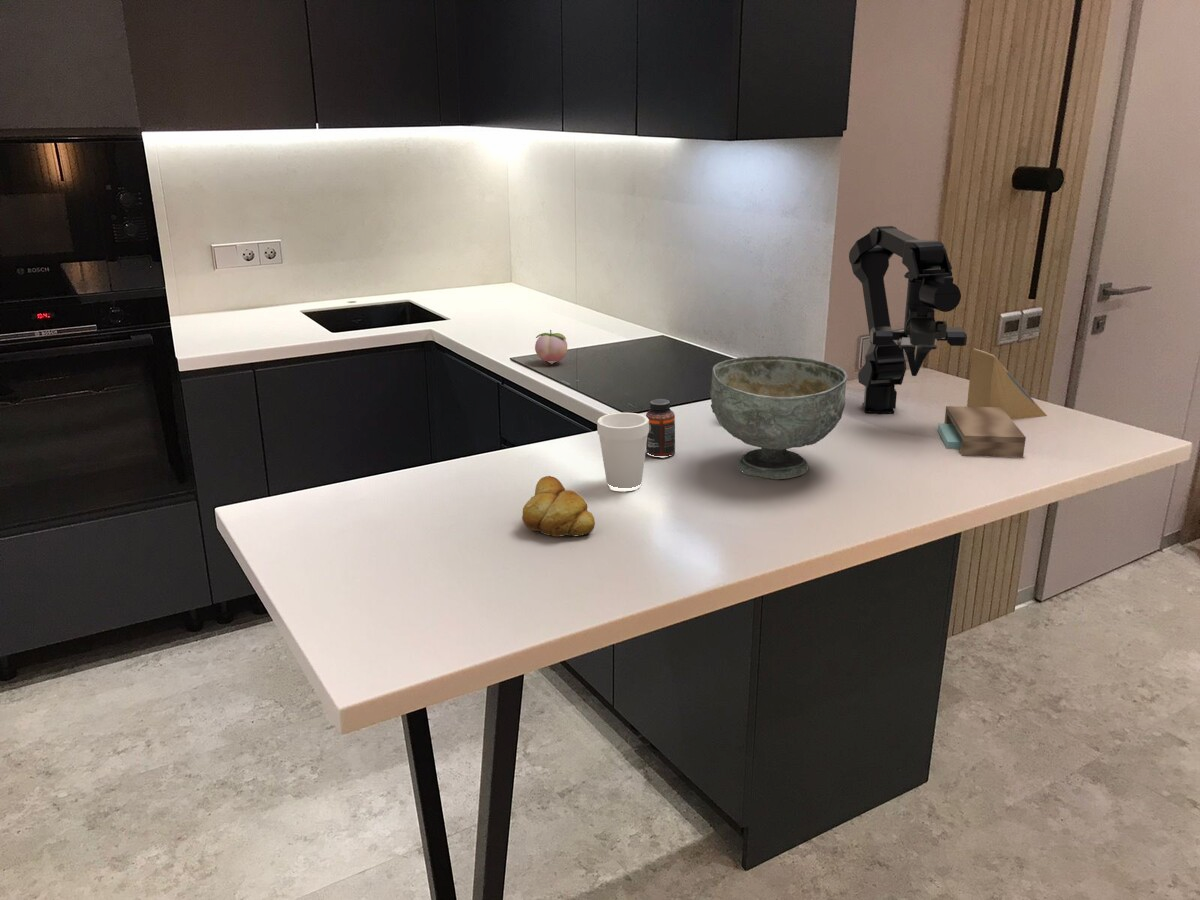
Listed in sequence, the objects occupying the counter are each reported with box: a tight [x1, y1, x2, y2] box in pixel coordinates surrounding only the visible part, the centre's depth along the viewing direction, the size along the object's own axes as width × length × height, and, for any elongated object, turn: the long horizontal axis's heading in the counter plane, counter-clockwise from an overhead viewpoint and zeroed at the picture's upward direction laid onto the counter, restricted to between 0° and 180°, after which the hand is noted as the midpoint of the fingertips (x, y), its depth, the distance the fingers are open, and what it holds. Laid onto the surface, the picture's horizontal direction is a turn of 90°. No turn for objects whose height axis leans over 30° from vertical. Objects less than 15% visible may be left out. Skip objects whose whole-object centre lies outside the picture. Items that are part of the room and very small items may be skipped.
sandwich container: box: [966, 347, 1048, 420], centre depth 209 cm, size 9×15×15 cm, turn 101°
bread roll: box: [521, 475, 596, 537], centre depth 156 cm, size 13×10×8 cm
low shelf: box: [943, 405, 1027, 458], centre depth 194 cm, size 12×20×4 cm, turn 171°
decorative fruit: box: [534, 329, 568, 362], centre depth 262 cm, size 9×8×10 cm
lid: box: [937, 423, 962, 450], centre depth 195 cm, size 12×12×2 cm
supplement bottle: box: [645, 398, 676, 456], centre depth 189 cm, size 6×6×11 cm
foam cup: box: [596, 412, 649, 488], centre depth 173 cm, size 10×9×13 cm
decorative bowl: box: [709, 355, 848, 480], centre depth 179 cm, size 26×26×20 cm
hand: (913, 375), depth 198 cm, fingers closed
